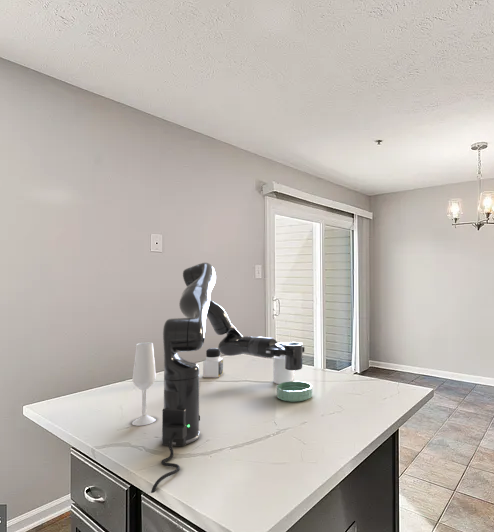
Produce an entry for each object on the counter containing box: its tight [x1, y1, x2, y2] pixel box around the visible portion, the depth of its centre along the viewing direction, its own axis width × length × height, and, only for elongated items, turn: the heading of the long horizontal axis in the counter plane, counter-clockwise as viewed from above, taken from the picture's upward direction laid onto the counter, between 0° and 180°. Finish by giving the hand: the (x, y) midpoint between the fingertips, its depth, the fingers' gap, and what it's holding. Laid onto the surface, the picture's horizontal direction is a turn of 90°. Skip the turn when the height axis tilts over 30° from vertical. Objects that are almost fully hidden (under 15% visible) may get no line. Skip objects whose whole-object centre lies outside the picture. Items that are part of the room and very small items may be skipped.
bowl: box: [276, 380, 313, 403], centre depth 141 cm, size 13×13×4 cm
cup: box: [285, 341, 303, 371], centre depth 141 cm, size 6×6×9 cm
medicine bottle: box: [202, 347, 224, 378], centre depth 171 cm, size 7×7×12 cm
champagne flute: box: [131, 341, 157, 427], centre depth 117 cm, size 7×7×24 cm
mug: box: [272, 355, 297, 385], centre depth 162 cm, size 9×12×11 cm
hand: (298, 351), depth 140 cm, fingers closed on cup, 6 cm apart
